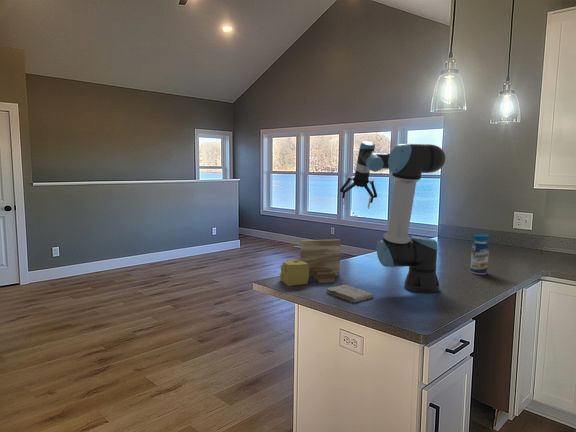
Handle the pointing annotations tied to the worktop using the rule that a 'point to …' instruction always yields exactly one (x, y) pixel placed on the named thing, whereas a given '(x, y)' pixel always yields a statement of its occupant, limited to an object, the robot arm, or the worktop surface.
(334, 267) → the wall board
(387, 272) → the worktop surface
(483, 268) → the beverage bottle
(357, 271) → the worktop surface
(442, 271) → the worktop surface
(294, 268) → the cheese
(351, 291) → the washcloth
